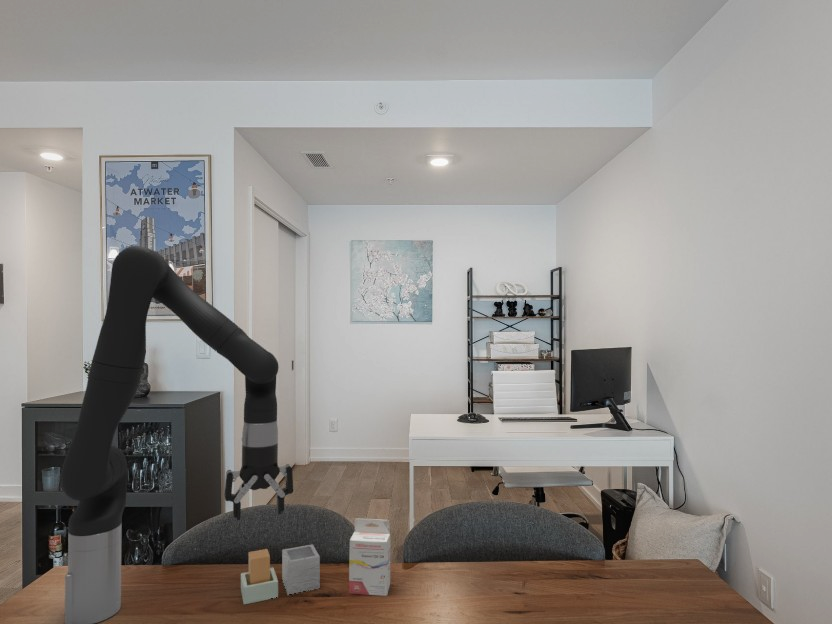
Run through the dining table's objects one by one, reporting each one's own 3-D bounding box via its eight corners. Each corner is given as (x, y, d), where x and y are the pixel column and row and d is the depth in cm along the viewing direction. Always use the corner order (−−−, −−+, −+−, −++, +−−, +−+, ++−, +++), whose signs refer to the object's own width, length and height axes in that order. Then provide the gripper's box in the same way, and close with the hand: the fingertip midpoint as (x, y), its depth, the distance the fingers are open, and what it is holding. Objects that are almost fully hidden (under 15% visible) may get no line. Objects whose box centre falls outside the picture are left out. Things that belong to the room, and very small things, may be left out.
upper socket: (287, 595, 112) (287, 562, 112) (282, 580, 118) (282, 549, 118) (319, 588, 115) (319, 556, 115) (312, 574, 121) (312, 544, 121)
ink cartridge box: (348, 594, 112) (348, 525, 112) (353, 583, 117) (353, 517, 117) (387, 596, 111) (387, 527, 111) (391, 585, 116) (390, 518, 116)
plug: (250, 597, 110) (250, 559, 110) (248, 589, 114) (248, 552, 114) (269, 593, 112) (269, 556, 112) (267, 585, 115) (267, 548, 116)
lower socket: (243, 604, 108) (243, 588, 108) (240, 589, 115) (240, 573, 115) (278, 597, 111) (278, 581, 111) (273, 582, 117) (273, 567, 117)
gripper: (226, 448, 107) (225, 527, 107) (296, 442, 113) (295, 517, 113) (224, 440, 114) (223, 515, 114) (289, 435, 120) (288, 506, 120)
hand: (259, 516), depth 113 cm, fingers open, 8 cm apart
